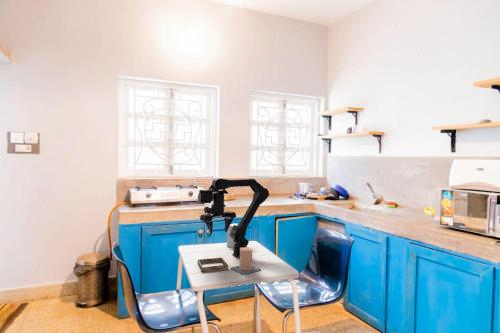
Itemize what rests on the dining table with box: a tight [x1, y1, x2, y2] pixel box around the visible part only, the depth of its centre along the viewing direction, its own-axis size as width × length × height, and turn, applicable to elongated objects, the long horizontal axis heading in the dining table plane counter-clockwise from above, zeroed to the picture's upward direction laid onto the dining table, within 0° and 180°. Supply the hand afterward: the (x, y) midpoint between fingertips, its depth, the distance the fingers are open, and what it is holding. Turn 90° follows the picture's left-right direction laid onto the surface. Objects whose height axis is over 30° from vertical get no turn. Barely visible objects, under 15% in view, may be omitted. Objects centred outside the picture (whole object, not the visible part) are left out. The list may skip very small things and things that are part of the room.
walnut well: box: [197, 256, 229, 273], centre depth 150 cm, size 12×12×2 cm
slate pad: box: [230, 264, 262, 276], centre depth 146 cm, size 10×10×1 cm
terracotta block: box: [239, 246, 253, 270], centre depth 146 cm, size 5×5×9 cm
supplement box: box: [226, 223, 239, 249], centre depth 185 cm, size 7×7×13 cm
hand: (218, 233), depth 162 cm, fingers open, 9 cm apart
